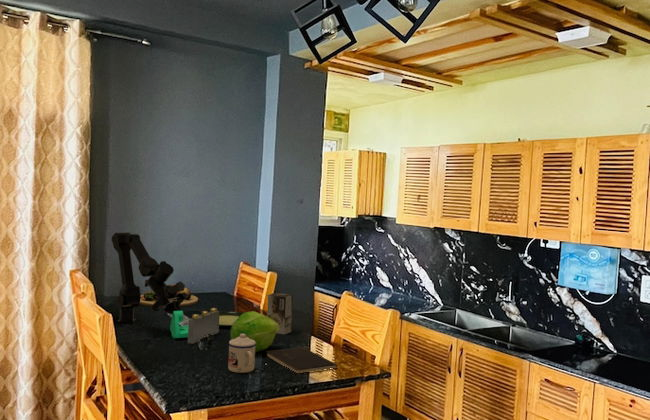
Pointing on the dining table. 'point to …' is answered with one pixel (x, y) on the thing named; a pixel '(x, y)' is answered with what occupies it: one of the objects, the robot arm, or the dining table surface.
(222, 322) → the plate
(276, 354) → the hardcover book
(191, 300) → the wooden plate with food
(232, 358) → the teacup with lid
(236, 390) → the dining table surface
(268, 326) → the lettuce
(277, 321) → the coffee box
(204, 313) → the grey upright panel
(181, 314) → the camera mount
